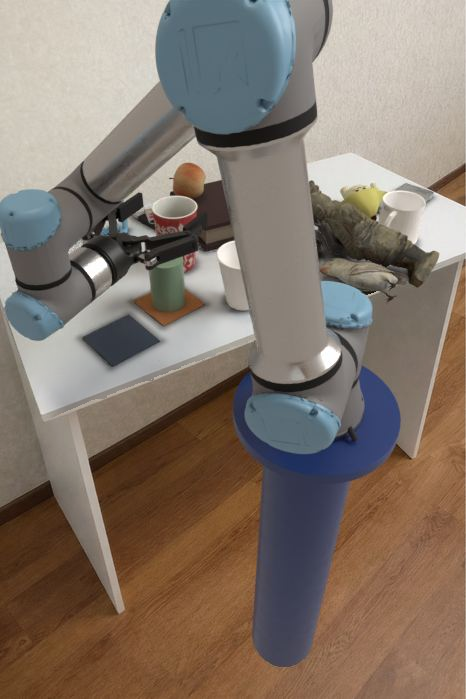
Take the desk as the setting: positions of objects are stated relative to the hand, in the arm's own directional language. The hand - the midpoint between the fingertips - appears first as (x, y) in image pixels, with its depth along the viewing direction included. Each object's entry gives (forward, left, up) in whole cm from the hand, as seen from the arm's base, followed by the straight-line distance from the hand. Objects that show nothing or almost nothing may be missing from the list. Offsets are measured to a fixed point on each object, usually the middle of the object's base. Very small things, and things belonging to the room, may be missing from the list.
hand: (172, 208), depth 104 cm
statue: (-29, -41, -17) cm, 53 cm away
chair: (+27, -2, -19) cm, 33 cm away
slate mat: (-4, +16, -19) cm, 25 cm away
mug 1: (+10, -7, -19) cm, 23 cm away
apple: (+18, -22, -10) cm, 30 cm away
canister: (-1, +3, -19) cm, 19 cm away
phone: (-7, -64, -19) cm, 67 cm away
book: (+15, -30, -19) cm, 38 cm away
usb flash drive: (+27, -13, -18) cm, 35 cm away
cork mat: (-1, +3, -19) cm, 19 cm away
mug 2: (-15, -48, -19) cm, 54 cm away
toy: (+3, -55, -17) cm, 58 cm away
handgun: (-8, -29, -14) cm, 33 cm away
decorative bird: (-30, -28, -16) cm, 44 cm away
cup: (-10, -8, -19) cm, 23 cm away
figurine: (-8, -30, -19) cm, 36 cm away
